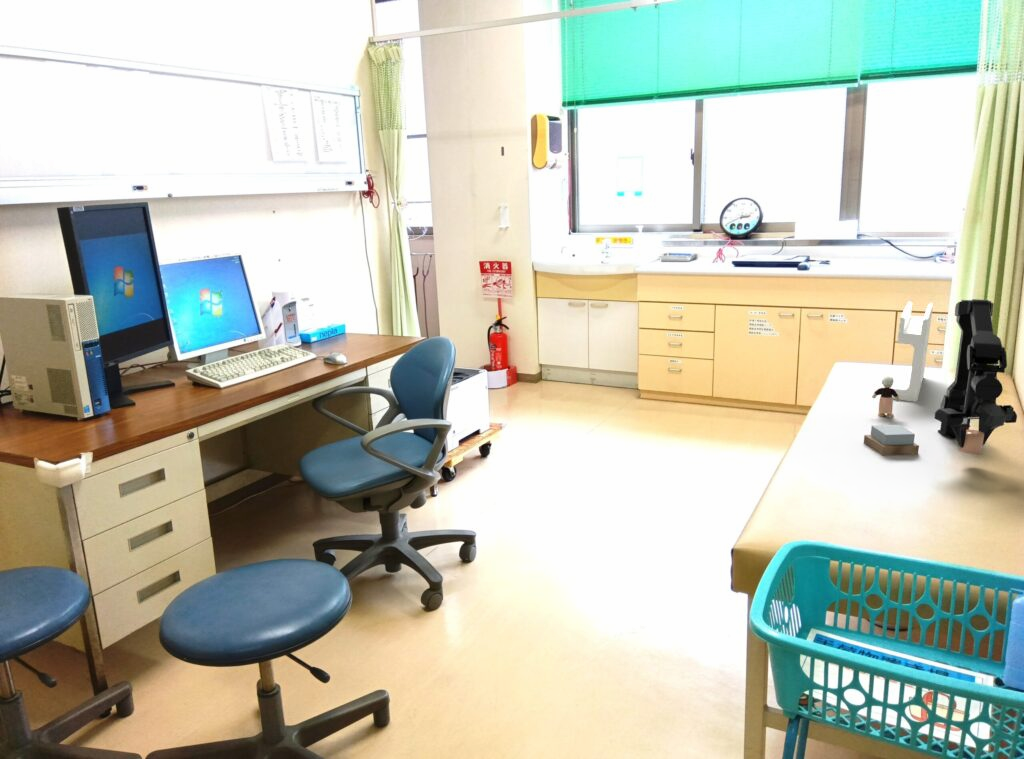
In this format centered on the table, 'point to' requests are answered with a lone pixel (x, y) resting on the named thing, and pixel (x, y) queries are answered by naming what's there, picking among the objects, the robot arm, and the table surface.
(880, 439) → the grey top slab
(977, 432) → the peach domed cylinder
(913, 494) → the table surface
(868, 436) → the walnut base slab
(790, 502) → the table surface
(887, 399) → the grandmother figurine
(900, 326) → the white forked cradle stand
